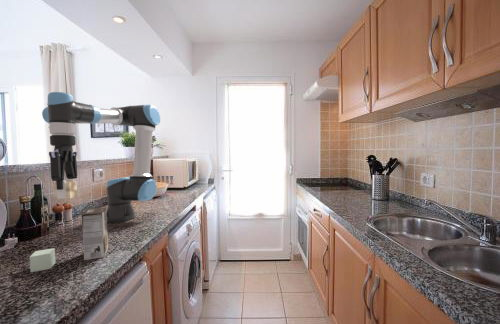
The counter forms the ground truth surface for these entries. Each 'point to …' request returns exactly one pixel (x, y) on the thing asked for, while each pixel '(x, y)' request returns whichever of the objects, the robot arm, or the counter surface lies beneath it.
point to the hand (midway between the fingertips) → (66, 196)
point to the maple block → (68, 189)
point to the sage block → (42, 260)
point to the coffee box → (95, 233)
